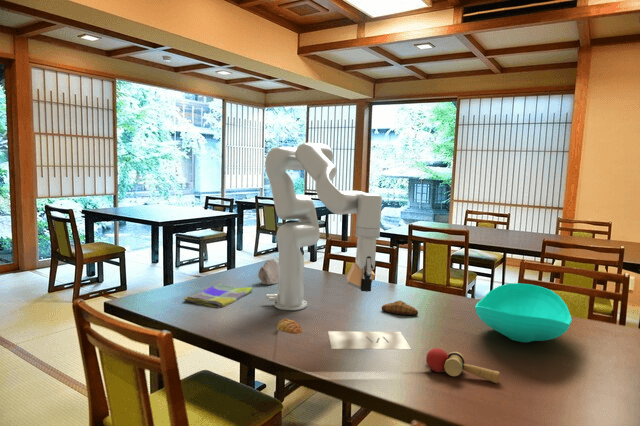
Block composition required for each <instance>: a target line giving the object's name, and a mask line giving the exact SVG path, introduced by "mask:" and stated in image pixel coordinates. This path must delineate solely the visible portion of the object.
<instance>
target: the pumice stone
mask: <svg viewBox="0 0 640 426" xmlns="http://www.w3.org/2000/svg"><path fill="white" fill-rule="evenodd" d="M257 277H258V279H259V280H260V282H261V283H262V284H263V285H268V286H269V285H275V284H276V285H277V284H278V278H279V262H278V261H276V260H275V259H272V258H271V259H268V260H266V262H264V264H263V265H262V266H261V267H260V268H259V270H258V276H257Z"/></svg>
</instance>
